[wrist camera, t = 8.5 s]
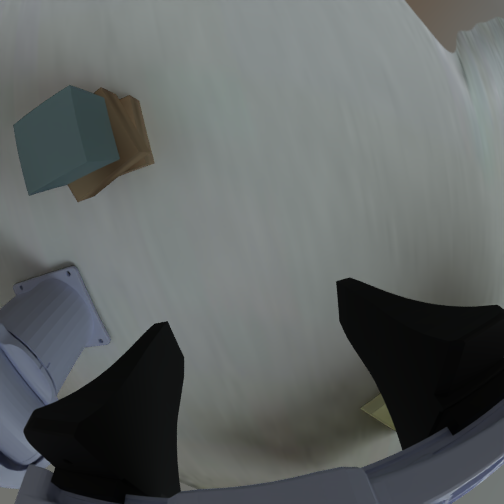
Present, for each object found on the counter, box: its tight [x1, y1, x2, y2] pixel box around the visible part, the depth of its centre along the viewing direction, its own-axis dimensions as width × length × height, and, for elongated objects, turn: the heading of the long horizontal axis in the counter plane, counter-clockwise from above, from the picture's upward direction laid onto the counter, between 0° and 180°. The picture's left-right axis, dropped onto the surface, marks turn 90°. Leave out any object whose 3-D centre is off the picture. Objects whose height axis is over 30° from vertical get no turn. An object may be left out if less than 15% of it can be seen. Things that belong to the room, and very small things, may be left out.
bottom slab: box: [119, 95, 154, 176], centre depth 17 cm, size 5×5×2 cm
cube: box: [13, 85, 120, 196], centre depth 11 cm, size 4×4×4 cm
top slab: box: [68, 88, 151, 202], centre depth 14 cm, size 5×5×2 cm
